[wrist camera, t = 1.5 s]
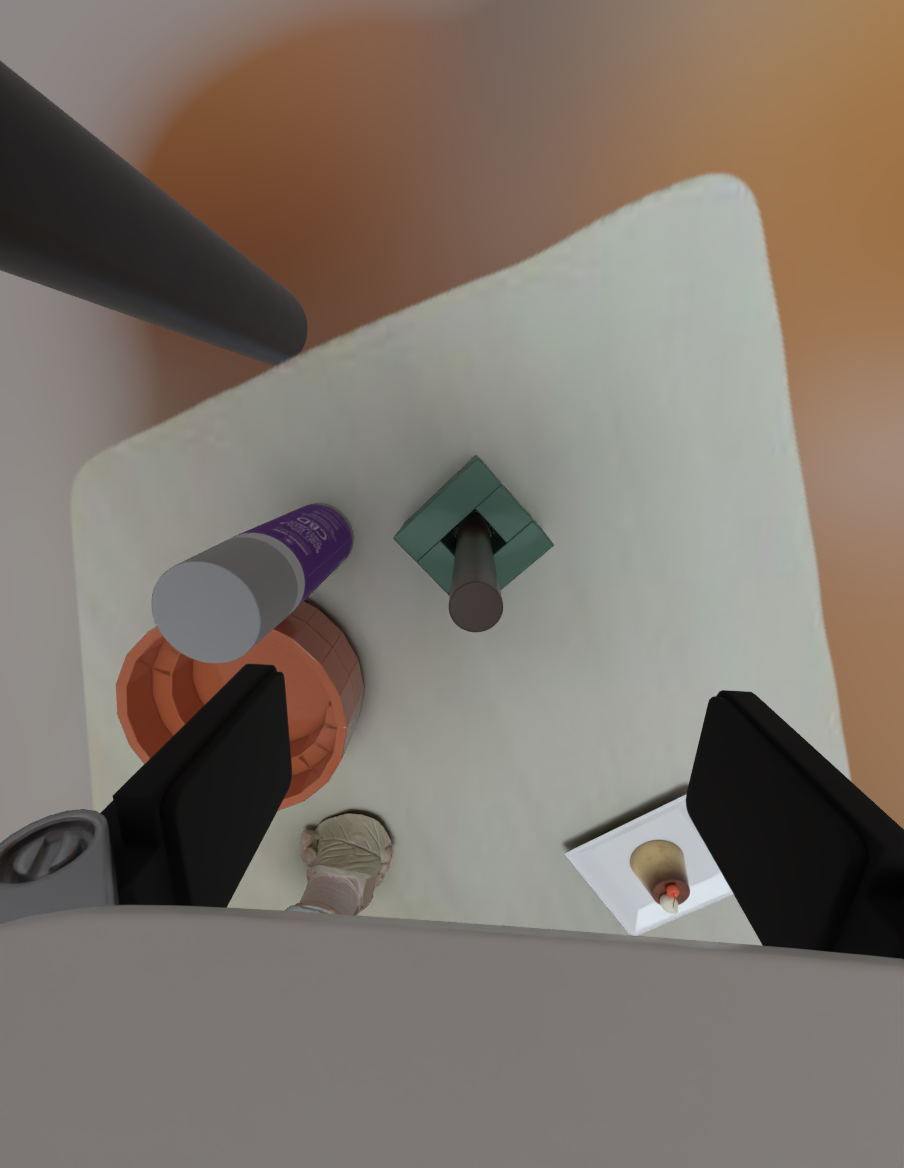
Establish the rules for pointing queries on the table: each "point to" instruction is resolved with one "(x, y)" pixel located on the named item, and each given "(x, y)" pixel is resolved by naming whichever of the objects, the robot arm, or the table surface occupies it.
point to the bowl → (184, 685)
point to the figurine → (343, 864)
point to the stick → (474, 578)
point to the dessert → (652, 869)
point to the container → (249, 583)
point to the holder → (451, 504)
